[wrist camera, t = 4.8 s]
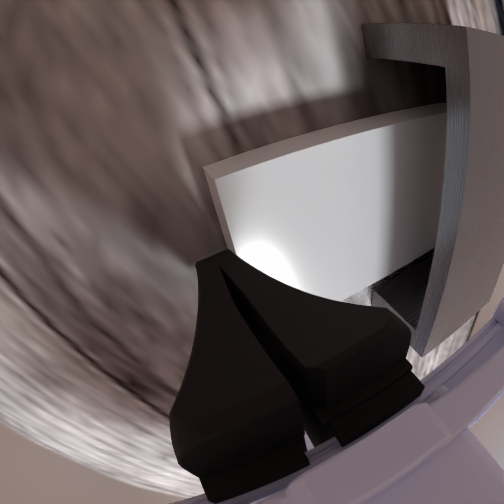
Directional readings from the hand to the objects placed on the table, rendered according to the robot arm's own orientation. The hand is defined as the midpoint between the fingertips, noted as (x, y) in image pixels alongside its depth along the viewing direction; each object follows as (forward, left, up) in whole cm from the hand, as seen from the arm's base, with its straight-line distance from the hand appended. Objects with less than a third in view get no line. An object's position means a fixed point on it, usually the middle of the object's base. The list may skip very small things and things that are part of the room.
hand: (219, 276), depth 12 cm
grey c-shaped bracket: (0, -12, -1) cm, 12 cm away
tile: (0, -7, -2) cm, 7 cm away
